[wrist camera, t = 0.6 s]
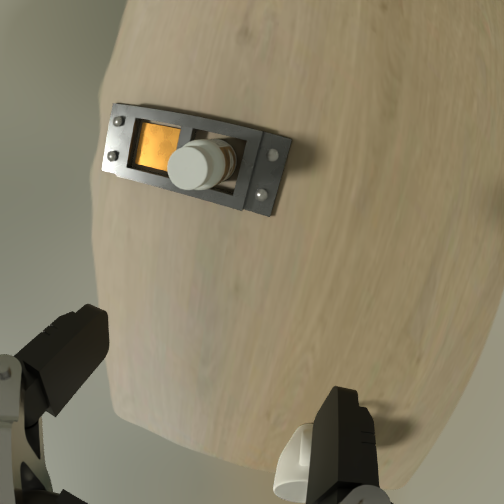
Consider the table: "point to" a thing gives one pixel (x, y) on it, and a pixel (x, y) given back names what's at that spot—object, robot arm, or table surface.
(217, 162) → the pill bottle
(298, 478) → the mug
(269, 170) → the metal frame plate
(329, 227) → the table surface
